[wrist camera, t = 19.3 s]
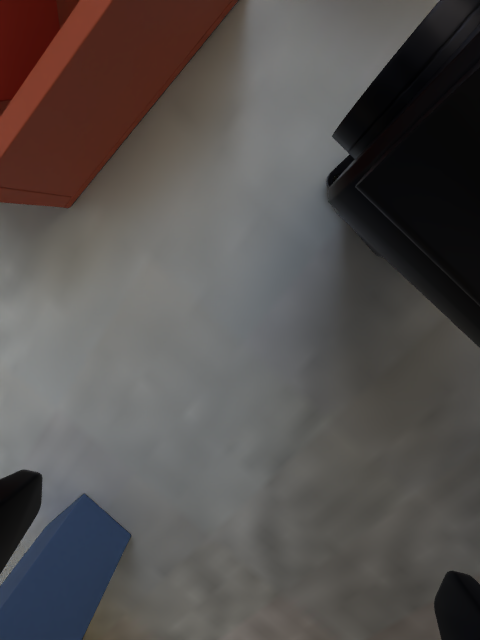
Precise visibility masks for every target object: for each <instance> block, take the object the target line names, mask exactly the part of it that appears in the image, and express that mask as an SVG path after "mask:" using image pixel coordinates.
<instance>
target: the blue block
mask: <svg viewBox="0 0 480 640" xmlns="http://www.w3.org/2000/svg"><path fill="white" fill-rule="evenodd" d="M130 537H131V534H130V533H128V532H127V531H126V530H125V529H124V528H123V527H122V526H121V525H119V524H118V523H117V522H116V521H115V520H114V519H113V518H111V517H110V516H109V515H108V514H107V513H106V512H105V511H104V510H102V509H101V508H100V507H99V506H98V505H97V504H96V503H95V502H93V501H92V500H91V499H90V498H89V497H88V496H87V495H85V494H83V495H82V496H80V497H79V498H78V499H77V500H76V501H75V502H74V503H72V504H71V505H70V506H69V507H68V508H67V509H65V510H64V511H63V512H62V513H61V514H60V515H59V516H57V517H56V518H55V519H54V520H53V521H52V522H51V523H49V524H48V525H47V526H46V527H45V529H44V530H43V531H42V532H41V534H40V535H39V536H38V538H37V539H36V540H35V542H34V543H33V544H32V545H31V547H30V548H29V549H28V551H27V552H26V553H25V555H24V556H23V557H22V558H21V560H20V561H19V562H18V564H17V565H16V566H15V568H14V569H13V570H12V571H11V573H10V574H9V575H8V577H7V578H6V579H5V581H4V582H3V583H2V584H1V586H0V640H82V638H83V636H84V634H85V632H86V630H87V628H88V626H89V624H90V622H91V619H92V617H93V615H94V613H95V611H96V609H97V607H98V605H99V603H100V600H101V598H102V596H103V594H104V592H105V590H106V588H107V586H108V584H109V581H110V579H111V577H112V575H113V573H114V571H115V569H116V567H117V565H118V562H119V560H120V558H121V556H122V554H123V552H124V550H125V548H126V546H127V543H128V541H129V539H130Z"/></svg>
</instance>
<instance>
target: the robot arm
mask: <svg viewBox="0 0 480 640" xmlns="http://www.w3.org/2000/svg"><path fill="white" fill-rule="evenodd" d="M332 137H333V138H334V139H335V140H336V141H337V142H338V143H339V144H340V145H341V146H342V147H343V148H344V149H345V150H346V151H347V152H348V153H349V154H350V155H349V156H348V157H347V158H345V159H344V160H343V161H342V162H341V163H340V164H339V165H338V166H337V167H336V168H335V169H334V170H333V171H332V172H331V173H330V174H329V176H328V177H327V186H328V188H329V189H328V202H329V203H330V204H331V205H332V206H333V207H334V208H335V211H336V213H337V214H338V215H339V216H340V217H341V218H342V219H343V220H345V221H346V222H347V223H348V224H349V225H350V226H351V227H352V228H353V229H354V231H355V232H356V233H357V234H358V235H359V236H360V237H361V239H362V240H363V241H364V242H365V243H366V244H367V245H368V247H369V248H370V249H371V250H372V251H373V252H374V253H375V254H376V255H378V256H381V257H384V258H385V259H386V260H387V261H388V262H389V263H390V264H391V265H392V266H393V267H394V268H396V269H397V270H398V271H399V272H400V273H401V274H402V275H403V276H404V277H405V278H406V279H407V280H408V281H409V282H410V283H411V284H413V285H414V286H415V287H416V288H417V289H418V290H419V291H420V292H421V293H422V294H423V295H424V296H425V297H426V298H427V299H428V300H430V301H431V302H432V303H433V304H434V305H435V306H436V307H437V308H438V309H439V310H440V311H441V312H442V313H443V314H444V315H445V316H447V317H448V318H449V319H450V320H451V321H452V322H453V323H454V324H455V325H456V326H457V327H458V328H459V329H460V330H461V331H462V332H464V333H465V334H466V335H467V336H468V337H469V338H470V339H471V340H472V341H473V342H474V343H475V344H476V345H477V346H478V347H479V348H480V0H440V1H439V2H438V3H437V5H436V6H435V7H434V8H433V9H432V10H431V12H430V13H429V14H428V15H427V16H426V18H425V19H424V20H423V21H422V22H421V24H420V25H419V26H418V27H417V28H416V30H415V31H414V32H413V33H412V34H411V35H410V37H409V38H408V39H407V40H406V42H405V43H404V44H403V45H402V46H401V48H400V49H399V50H398V51H397V53H396V54H395V55H394V56H393V57H392V59H391V60H390V61H389V62H388V64H387V65H386V66H385V67H384V68H383V70H382V71H381V72H380V73H379V75H378V76H377V77H376V78H375V80H374V81H373V82H372V83H371V85H370V86H369V87H368V88H367V90H366V91H365V92H364V94H363V95H362V96H361V97H360V99H359V100H358V101H357V102H356V104H355V105H354V106H353V108H352V109H351V110H350V112H349V113H348V114H347V115H346V117H345V118H344V119H343V121H342V122H341V123H340V125H339V126H338V128H337V129H336V130H335V132H334V134H333V135H332ZM334 176H339V177H338V178H337V179H336V181H335V182H334V183H333V178H334ZM41 498H42V475H41V474H40V473H38V472H34V471H30V470H20V471H18V472H16V473H13V474H11V475H9V476H7V477H4V478H2V479H0V574H1V572H2V570H3V569H4V567H5V566H6V564H7V562H8V561H9V559H10V557H11V556H12V554H13V553H14V551H15V549H16V548H17V546H18V545H19V543H20V541H21V540H22V538H23V536H24V535H25V533H26V532H27V530H28V528H29V527H30V525H31V524H32V522H33V520H34V519H35V517H36V515H37V514H38V512H39V509H40V506H41ZM434 609H435V614H436V619H437V623H438V627H439V631H440V635H441V639H442V640H480V584H479V583H478V582H477V581H476V580H475V579H474V578H472V577H471V576H470V575H467V574H464V573H460V572H455V571H449V572H447V573H446V575H445V577H444V579H443V581H442V583H441V586H440V588H439V590H438V592H437V594H436V597H435V601H434Z"/></svg>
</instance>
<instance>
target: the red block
mask: <svg viewBox="0 0 480 640" xmlns="http://www.w3.org/2000/svg"><path fill="white" fill-rule="evenodd" d="M59 30H60V24H59V16H58V9H57V2H56V0H0V102H2V101H9V100H12V99H13V97H14V96H15V94H16V93H17V91H18V90H19V89H20V87H21V86H22V84H23V83H24V81H25V80H26V78H27V77H28V75H29V74H30V72H31V71H32V70H33V68H34V67H35V65H36V64H37V62H38V61H39V59H40V58H41V56H42V55H43V53H44V52H45V51H46V49H47V48H48V46H49V45H50V43H51V42H52V40H53V39H54V37H55V36H56V34H57V33H58V32H59Z"/></svg>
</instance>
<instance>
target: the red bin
mask: <svg viewBox="0 0 480 640" xmlns="http://www.w3.org/2000/svg"><path fill="white" fill-rule="evenodd" d="M237 1H238V0H56V2H57V9H58V16H59V24H60V30H59V32H58V33H57V34H56V36H55V37H54V39H53V40H52V42H51V43H50V45H49V46H48V48H47V49H46V51H45V52H44V53H43V55H42V56H41V58H40V59H39V61H38V62H37V64H36V65H35V67H34V68H33V70H32V71H31V72H30V74H29V75H28V77H27V78H26V80H25V81H24V83H23V84H22V86H21V87H20V89H19V90H18V91H17V93H16V94H15V96H14V97H13V99H12V100H9V101H2V102H0V202H2V203H15V204H27V205H39V206H52V207H64V208H70V207H71V206H72V204H73V203H74V202H75V201H76V199H77V198H78V197H79V196H80V194H81V193H82V192H83V191H84V190H85V188H86V187H87V186H88V185H89V183H90V182H91V181H92V180H93V178H94V177H95V176H96V175H97V174H98V172H99V171H100V170H101V169H102V167H103V166H104V165H105V164H106V162H107V161H108V160H109V159H110V158H111V156H112V155H113V154H114V153H115V151H116V150H117V149H118V148H119V147H120V145H121V144H122V143H123V142H124V140H125V139H126V138H127V137H128V135H129V134H130V133H131V132H132V131H133V129H134V128H135V127H136V126H137V124H138V123H139V122H140V121H141V119H142V118H143V117H144V116H145V115H146V113H147V112H148V111H149V110H150V108H151V107H152V106H153V105H154V103H155V102H156V101H157V100H158V99H159V97H160V96H161V95H162V94H163V92H164V91H165V90H166V89H167V88H168V86H169V85H170V84H171V83H172V81H173V80H174V79H175V78H176V76H177V75H178V74H179V73H180V72H181V70H182V69H183V68H184V67H185V65H186V64H187V63H188V62H189V60H190V59H191V58H192V57H193V56H194V54H195V53H196V52H197V51H198V49H199V48H200V47H201V46H202V44H203V43H204V42H205V41H206V40H207V38H208V37H209V36H210V35H211V33H212V32H213V31H214V30H215V28H216V27H217V26H218V25H219V24H220V22H221V21H222V20H223V19H224V17H225V16H226V15H227V14H228V13H229V11H230V10H231V9H232V8H233V6H234V5H235V4H236V3H237Z"/></svg>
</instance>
